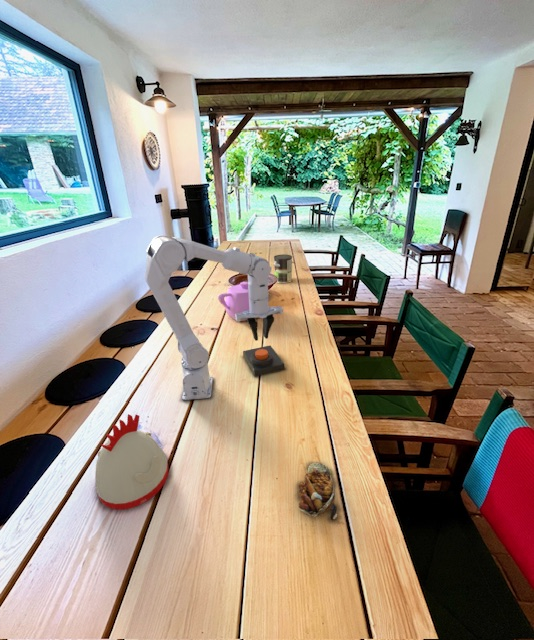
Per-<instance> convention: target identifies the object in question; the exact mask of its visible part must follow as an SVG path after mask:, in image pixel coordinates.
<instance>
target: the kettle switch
mask: <svg viewBox="0 0 534 640" xmlns="http://www.w3.org/2000/svg"><path fill="white" fill-rule="evenodd" d="M259 349H265V350H267V351H268V358H267V359H264V360H258V359H256V356H255V352H256V351H257V350H259ZM242 357H243V359H244V360H245V362H246V364H247V366H248V367H249V370H250V371H251V373H252V374H253V376H254V377H259V376H263V375H268V374H272V373H276V372H282V371H284V370H286V368H285V362H284V361H283V359H281V357H280V356H279V354H278V353H277V352H276V351H275V350H274V348H273V346H271V345H264V346H261V347H256V348H251V349H246V350H242Z"/></svg>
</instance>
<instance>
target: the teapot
mask: <svg viewBox="0 0 534 640" xmlns="http://www.w3.org/2000/svg"><path fill="white" fill-rule="evenodd" d="M217 299H218V301H219V303H220V304H221V305H222V306H223V307H224V310H225V312H226V313H227V315H228V316H229V317H230V318H232V319H233V320H235V321H236V318H235V314H237V313H241V312H244V311H247V310H250V306H249V290H248V281H241V282H240V283H238V284H235V285H232V286H229V287H228V289H227V292H224V293H220V294H218V296H217ZM240 322H247V320H241V321H240Z"/></svg>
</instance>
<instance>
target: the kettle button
mask: <svg viewBox="0 0 534 640" xmlns="http://www.w3.org/2000/svg"><path fill="white" fill-rule="evenodd" d="M255 356H256V359H258V360H264V359H267V358H268V351H267V350H265V349H259V350H257V351H256V352H255Z"/></svg>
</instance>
